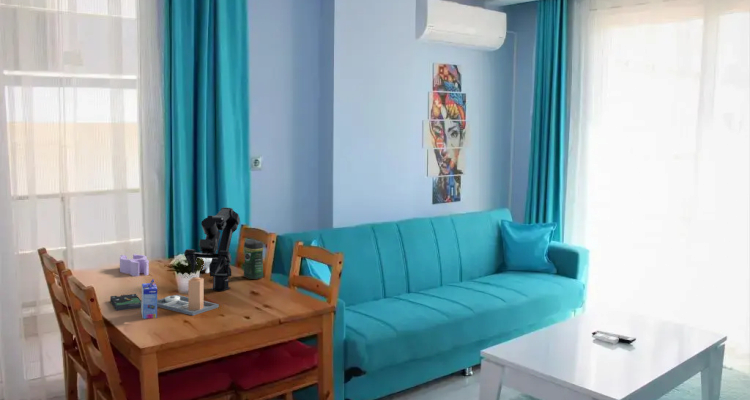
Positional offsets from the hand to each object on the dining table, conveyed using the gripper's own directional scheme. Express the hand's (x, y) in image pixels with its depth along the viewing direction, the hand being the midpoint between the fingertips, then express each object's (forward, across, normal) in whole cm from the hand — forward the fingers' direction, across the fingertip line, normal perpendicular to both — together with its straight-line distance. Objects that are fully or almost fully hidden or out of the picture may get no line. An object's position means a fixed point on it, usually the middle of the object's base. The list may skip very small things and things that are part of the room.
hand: (203, 273), depth 265 cm
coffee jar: (-25, +9, +45) cm, 53 cm away
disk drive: (+13, -31, +7) cm, 34 cm away
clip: (-26, -50, +46) cm, 73 cm away
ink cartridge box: (+22, -16, -4) cm, 28 cm away
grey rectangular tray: (+13, -6, +6) cm, 16 cm away
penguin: (-31, -15, +52) cm, 62 cm away
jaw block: (+15, -1, +3) cm, 15 cm away
